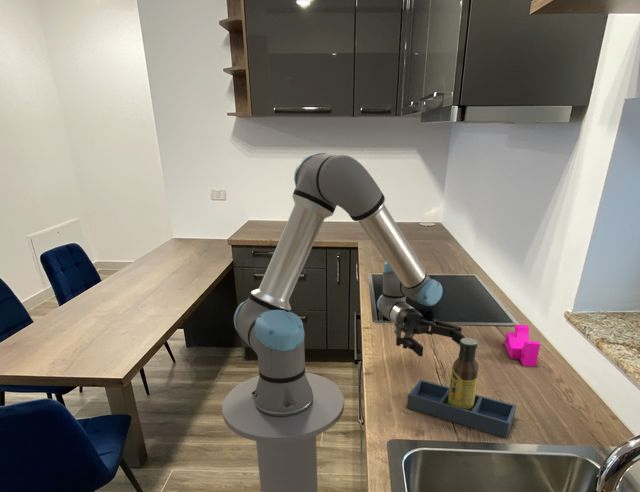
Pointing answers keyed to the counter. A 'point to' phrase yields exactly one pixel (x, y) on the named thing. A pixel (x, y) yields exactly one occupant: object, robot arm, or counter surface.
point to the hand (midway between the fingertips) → (444, 348)
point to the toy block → (522, 346)
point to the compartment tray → (482, 417)
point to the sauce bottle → (464, 376)
